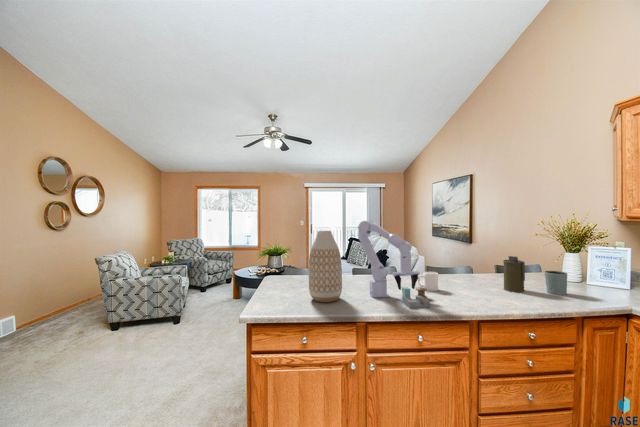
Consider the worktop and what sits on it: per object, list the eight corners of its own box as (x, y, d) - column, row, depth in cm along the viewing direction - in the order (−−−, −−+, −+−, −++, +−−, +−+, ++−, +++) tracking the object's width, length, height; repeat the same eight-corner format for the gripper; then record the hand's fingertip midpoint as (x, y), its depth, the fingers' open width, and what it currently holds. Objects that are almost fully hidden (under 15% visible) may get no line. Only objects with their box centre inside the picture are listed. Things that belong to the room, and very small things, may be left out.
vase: (340, 305, 149) (338, 232, 149) (305, 303, 153) (304, 232, 153) (344, 295, 167) (343, 229, 167) (313, 294, 171) (312, 230, 171)
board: (409, 308, 143) (409, 302, 143) (402, 302, 153) (402, 296, 153) (429, 307, 144) (429, 301, 144) (421, 301, 154) (421, 295, 154)
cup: (440, 291, 172) (440, 274, 172) (420, 291, 172) (419, 274, 172) (435, 287, 180) (434, 271, 180) (415, 287, 180) (415, 271, 180)
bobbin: (418, 299, 157) (418, 290, 157) (414, 296, 163) (413, 287, 163) (429, 299, 157) (428, 289, 157) (424, 295, 163) (424, 287, 163)
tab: (407, 301, 153) (406, 290, 153) (402, 298, 160) (402, 287, 160) (412, 301, 153) (412, 290, 153) (407, 297, 160) (407, 287, 160)
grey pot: (568, 296, 157) (568, 274, 157) (544, 293, 163) (544, 272, 163) (567, 292, 165) (566, 271, 165) (544, 289, 171) (544, 269, 171)
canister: (499, 289, 174) (499, 256, 174) (510, 287, 178) (509, 254, 178) (518, 293, 164) (517, 258, 164) (529, 291, 168) (528, 257, 168)
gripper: (395, 265, 154) (395, 291, 153) (421, 264, 155) (422, 290, 155) (391, 263, 161) (391, 288, 161) (416, 262, 162) (416, 286, 162)
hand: (406, 288), depth 158 cm, fingers open, 7 cm apart
